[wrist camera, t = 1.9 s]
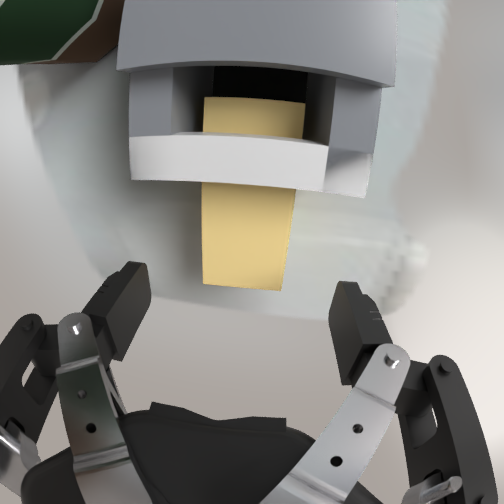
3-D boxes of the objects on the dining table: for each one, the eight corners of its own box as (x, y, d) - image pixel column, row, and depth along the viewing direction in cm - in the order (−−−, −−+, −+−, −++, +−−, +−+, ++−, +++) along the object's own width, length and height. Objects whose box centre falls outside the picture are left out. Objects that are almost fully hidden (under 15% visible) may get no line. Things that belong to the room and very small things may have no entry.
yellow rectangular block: (221, 99, 13) (204, 96, 10) (295, 105, 13) (305, 103, 9) (216, 243, 18) (202, 284, 14) (278, 249, 18) (281, 291, 14)
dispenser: (197, -26, 9) (152, -92, 2) (340, -17, 9) (385, -81, 2) (183, 149, 15) (117, 187, 8) (326, 160, 15) (374, 208, 8)
